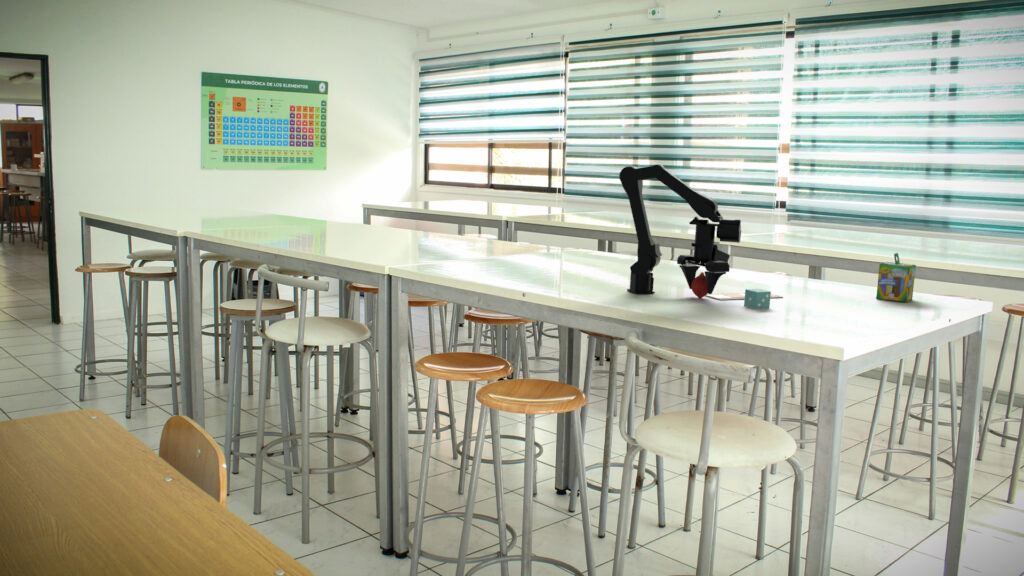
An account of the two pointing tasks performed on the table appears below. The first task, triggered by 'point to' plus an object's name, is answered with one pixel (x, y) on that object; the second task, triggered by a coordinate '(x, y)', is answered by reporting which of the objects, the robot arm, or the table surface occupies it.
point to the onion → (699, 286)
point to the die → (757, 298)
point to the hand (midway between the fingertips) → (700, 291)
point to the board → (733, 296)
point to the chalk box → (896, 281)
